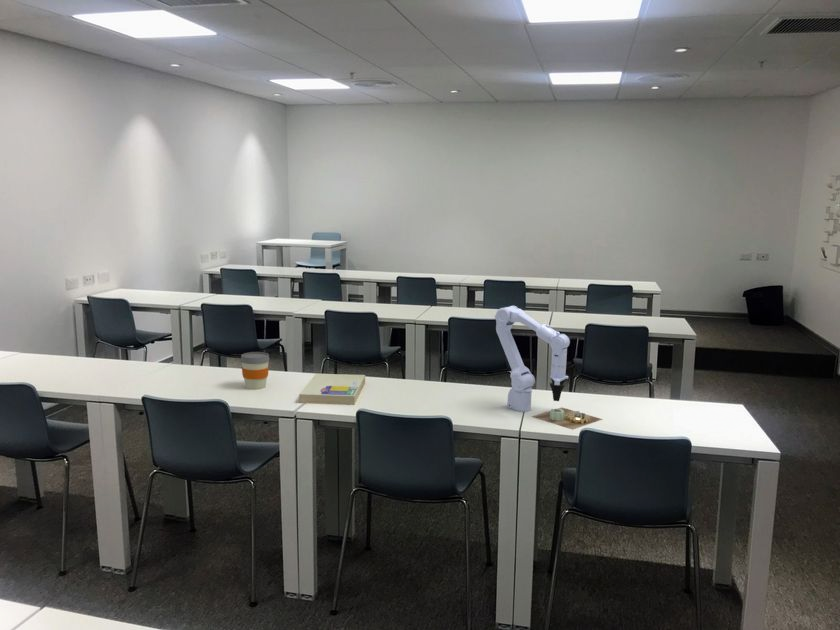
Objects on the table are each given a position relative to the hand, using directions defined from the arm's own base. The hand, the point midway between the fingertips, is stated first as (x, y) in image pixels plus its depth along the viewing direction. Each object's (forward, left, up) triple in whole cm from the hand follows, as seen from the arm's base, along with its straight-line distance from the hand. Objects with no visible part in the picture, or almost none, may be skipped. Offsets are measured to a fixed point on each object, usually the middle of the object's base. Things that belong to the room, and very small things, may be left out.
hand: (556, 398), depth 271 cm
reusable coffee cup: (-114, -72, -9) cm, 135 cm away
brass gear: (+9, +3, -8) cm, 12 cm away
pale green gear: (+2, -2, -8) cm, 8 cm away
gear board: (+4, +2, -9) cm, 10 cm away
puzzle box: (-85, -49, -9) cm, 99 cm away
